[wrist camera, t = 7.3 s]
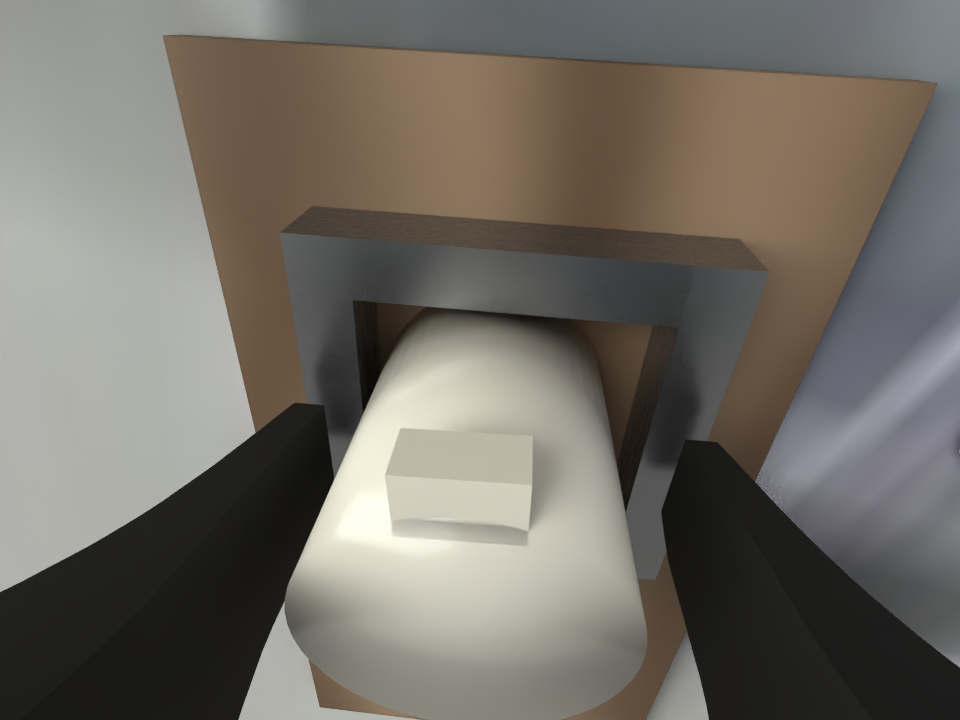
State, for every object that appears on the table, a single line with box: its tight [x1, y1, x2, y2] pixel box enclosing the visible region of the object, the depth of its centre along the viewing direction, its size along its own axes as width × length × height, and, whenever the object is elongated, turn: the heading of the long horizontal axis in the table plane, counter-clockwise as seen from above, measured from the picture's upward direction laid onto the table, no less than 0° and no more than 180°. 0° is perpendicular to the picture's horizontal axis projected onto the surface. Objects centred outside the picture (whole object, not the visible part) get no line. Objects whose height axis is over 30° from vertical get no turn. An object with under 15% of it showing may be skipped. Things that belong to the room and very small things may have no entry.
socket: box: [280, 206, 770, 580], centre depth 12 cm, size 8×8×2 cm
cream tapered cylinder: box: [285, 306, 648, 720], centre depth 11 cm, size 9×5×6 cm, turn 0°
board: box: [163, 35, 938, 720], centre depth 16 cm, size 13×24×1 cm, turn 177°
